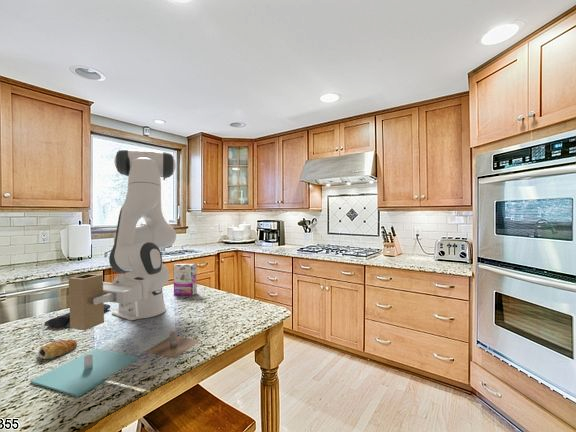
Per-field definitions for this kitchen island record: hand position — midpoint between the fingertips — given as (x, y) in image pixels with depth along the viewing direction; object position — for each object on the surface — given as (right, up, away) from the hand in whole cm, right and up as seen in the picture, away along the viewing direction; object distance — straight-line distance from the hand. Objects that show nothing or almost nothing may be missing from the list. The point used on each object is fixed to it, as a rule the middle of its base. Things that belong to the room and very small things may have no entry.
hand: (83, 300), depth 77 cm
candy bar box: (+2, -19, +72) cm, 74 cm away
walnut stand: (+19, -20, +14) cm, 31 cm away
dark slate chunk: (-32, -20, +41) cm, 56 cm away
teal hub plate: (0, -20, +1) cm, 21 cm away
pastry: (-17, -21, +11) cm, 29 cm away
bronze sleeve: (0, -7, +1) cm, 7 cm away
